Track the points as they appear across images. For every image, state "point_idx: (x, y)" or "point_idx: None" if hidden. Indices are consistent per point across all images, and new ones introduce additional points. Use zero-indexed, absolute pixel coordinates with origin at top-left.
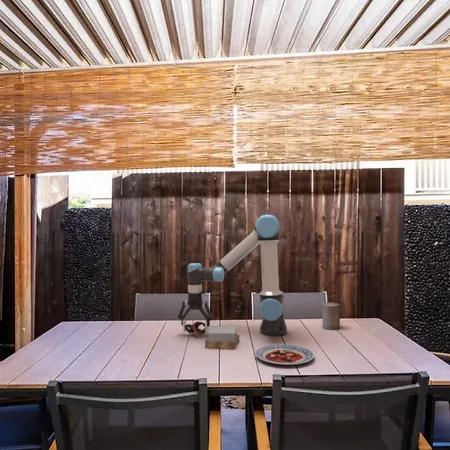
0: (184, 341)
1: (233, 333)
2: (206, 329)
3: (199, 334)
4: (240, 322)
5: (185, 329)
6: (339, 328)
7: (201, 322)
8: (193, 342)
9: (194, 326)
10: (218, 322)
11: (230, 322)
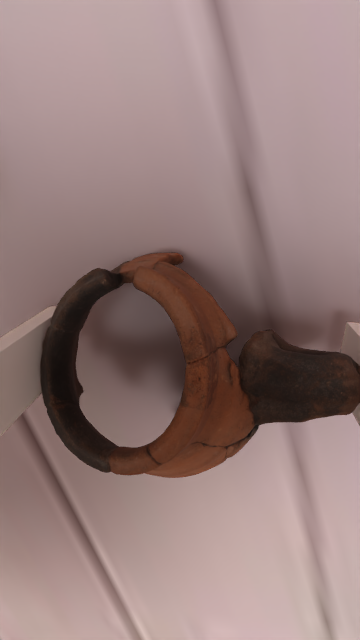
0: (278, 67)
1: None
2: (26, 324)
3: (122, 264)
4: (16, 624)
5: None
6: None
7: (102, 455)
8: (142, 54)
9: (177, 317)
10: (145, 636)
11: (71, 629)
